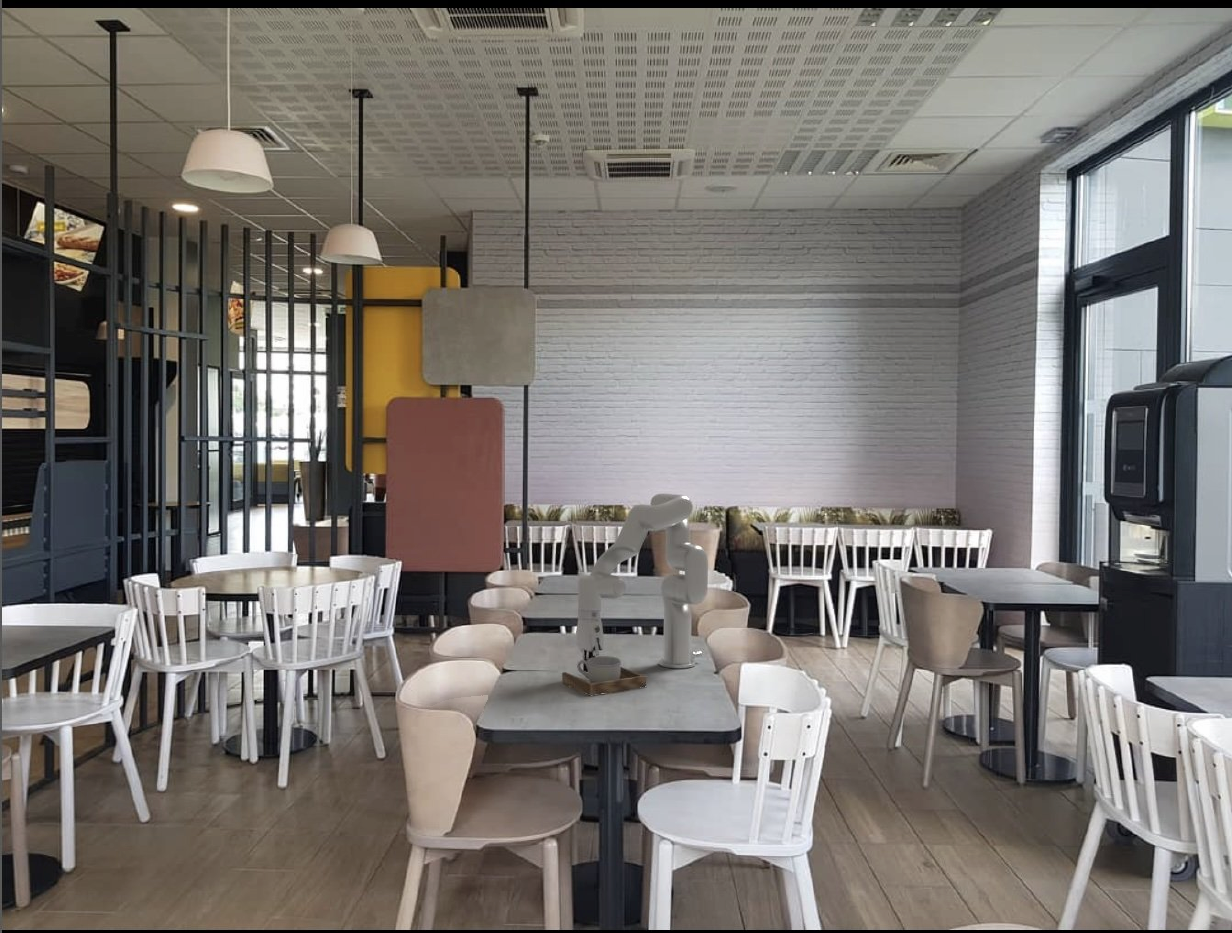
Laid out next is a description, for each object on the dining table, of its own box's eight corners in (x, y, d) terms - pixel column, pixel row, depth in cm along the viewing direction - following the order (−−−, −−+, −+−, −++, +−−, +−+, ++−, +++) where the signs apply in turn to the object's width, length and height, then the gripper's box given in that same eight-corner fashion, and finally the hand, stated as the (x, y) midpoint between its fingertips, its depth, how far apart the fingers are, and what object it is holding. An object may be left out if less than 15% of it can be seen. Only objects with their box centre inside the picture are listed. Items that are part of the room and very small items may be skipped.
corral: (615, 675, 322) (616, 665, 322) (646, 687, 307) (646, 676, 307) (562, 683, 311) (562, 672, 311) (590, 696, 296) (590, 684, 296)
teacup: (625, 682, 313) (625, 657, 313) (614, 690, 303) (615, 664, 303) (584, 678, 317) (584, 654, 317) (572, 686, 307) (572, 661, 307)
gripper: (611, 617, 312) (610, 674, 312) (587, 610, 324) (586, 665, 325) (591, 619, 308) (590, 677, 308) (567, 612, 320) (567, 667, 321)
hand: (588, 671), depth 316 cm, fingers closed
